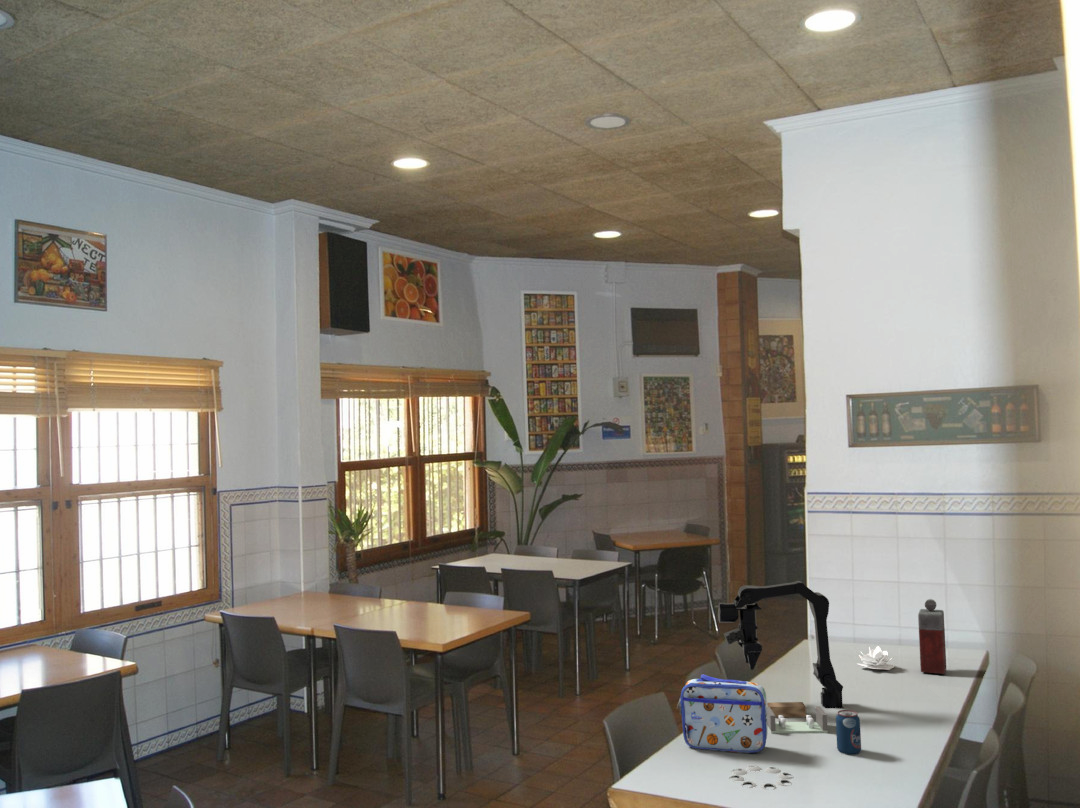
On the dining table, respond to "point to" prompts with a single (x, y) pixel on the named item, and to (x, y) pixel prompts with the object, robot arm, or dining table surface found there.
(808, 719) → the peg cradle
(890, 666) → the lotus flower
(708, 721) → the lunch box
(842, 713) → the soda can
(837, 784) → the dining table surface
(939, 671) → the red decanter bottle
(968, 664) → the dining table surface
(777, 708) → the shelf block
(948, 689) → the dining table surface
